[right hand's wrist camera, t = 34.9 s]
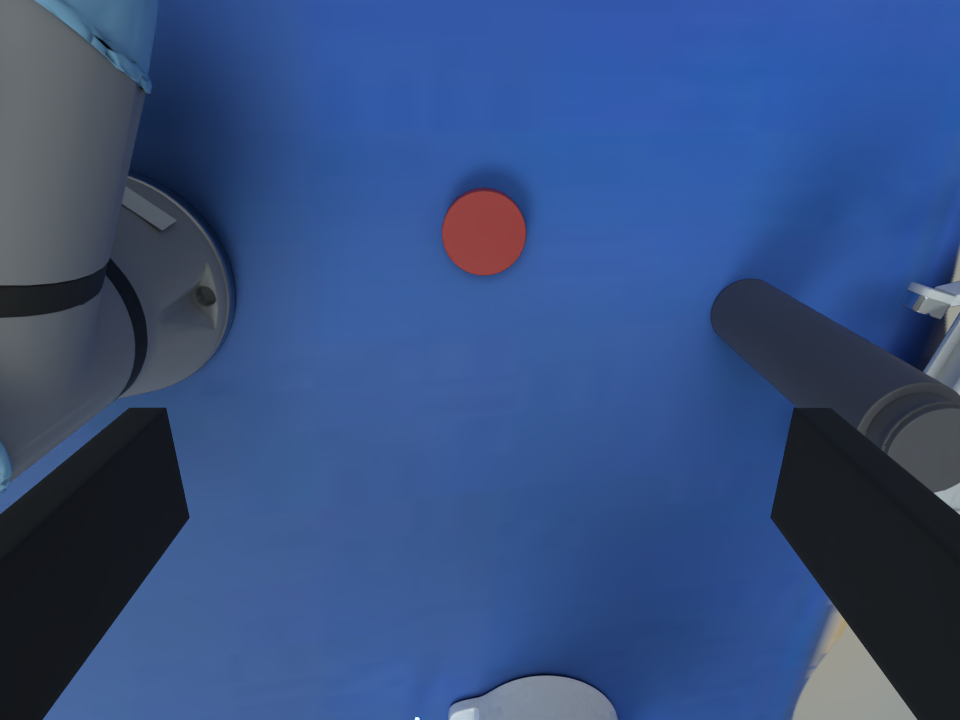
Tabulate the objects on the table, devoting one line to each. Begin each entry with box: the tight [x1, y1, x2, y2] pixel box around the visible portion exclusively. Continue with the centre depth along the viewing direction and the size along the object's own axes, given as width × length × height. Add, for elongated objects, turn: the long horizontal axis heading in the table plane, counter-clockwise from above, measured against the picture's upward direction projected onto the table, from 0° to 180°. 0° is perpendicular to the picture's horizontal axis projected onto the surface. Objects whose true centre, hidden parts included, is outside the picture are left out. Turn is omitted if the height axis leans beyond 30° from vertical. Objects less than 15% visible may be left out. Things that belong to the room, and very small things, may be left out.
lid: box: [442, 188, 526, 275], centre depth 40 cm, size 6×6×2 cm
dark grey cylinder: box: [711, 279, 960, 493], centre depth 34 cm, size 5×5×20 cm
